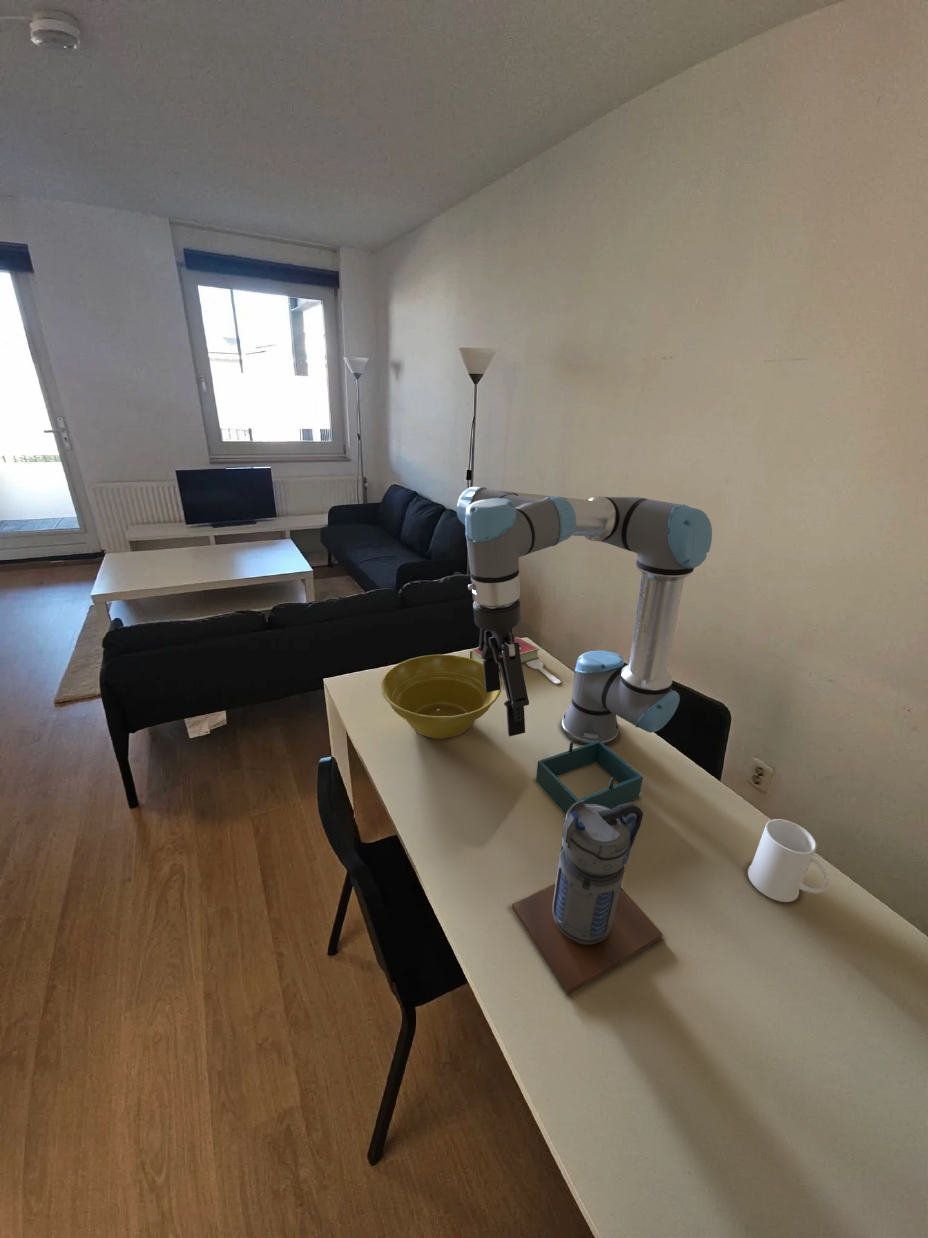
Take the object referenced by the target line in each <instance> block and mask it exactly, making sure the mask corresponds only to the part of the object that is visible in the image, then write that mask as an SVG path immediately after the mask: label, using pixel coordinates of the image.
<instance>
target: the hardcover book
mask: <svg viewBox="0 0 928 1238" xmlns="http://www.w3.org/2000/svg"><path fill="white" fill-rule="evenodd" d="M514 640H515V642H518V643H519V645H520V647H519V648H520V658H521V663H522V665H523V664H526V662H529V661H532V660H535V659H537V660H539V659H540V658H539V657H538V651H539V650H540V648H538V647H537V646H535V645H534V644H532V643H530V642H528V641H526V640H525V639H523V638H521V637H519V636H517V637H514ZM481 655H482V651H481V652H480V650H479V647H477V648H474V649H470V651H469V658H470V659H473V660H476V661H478V662H481V663H483V661H484V660H485V659H483V658H482V656H481ZM499 657H503V656H499ZM499 672H501V670H500V666H499Z"/></svg>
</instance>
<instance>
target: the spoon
mask: <svg viewBox="0 0 928 1238" xmlns="http://www.w3.org/2000/svg"><path fill="white" fill-rule="evenodd" d="M525 664H526V665H527V667H529V668H531V669H534V670H538V671H540V672H541V673H542V674H543V675H544V676H545V677H546V678H547V679H548V680H549V681H551V682H552V683H553V684H555V685H560V684H561V680H560V679H558V678H557V677H556V676H555V675H553V674H552V673H550V672H549V671H548V670H546V669H545V668H544V663H543V662H542V661H541V660H539V659H535V660H532V661H529V662H526V663H525Z"/></svg>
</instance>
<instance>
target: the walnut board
mask: <svg viewBox="0 0 928 1238" xmlns="http://www.w3.org/2000/svg"><path fill="white" fill-rule="evenodd" d="M555 885H556V883H554V884H552V885H549V886H548V887H545V888H544V889H541V890H539V891H537V892H534V893H532V894H530V895H528V896H526V897H524V898H522V899H520V900H518V901H515V902H514V903H512V905H511V909H512V911H513V912H514V914H515V915H516V917H517V918H518V920H519V922H520V923H521V925H522V926H523V928H524V929H525V931H526V933H527V935H528V937H530V939H531V941H532V942H533V943H534V945H535V947H536V948H537V950H538V952H539V953H540V954H541V957H543V959H544V960H545V962H546V963H547V966H548V967H549V969H550V970H551V971H552V973H553V974H554V977H556V979H557V981H558V982H559V984H560V985H561V987H562V989H563V990H564V992H565V993H566V995H567V996H569V995H571V994H573V993H574V992H576V991H577V990H579V989H581V988H583V987H585V986H586V985H588V984H590V983H591V982H593V981H595V980H596V979H598V978H599V977H601V976H603V975H604V974H606V973H608V972H610V971H611V970H613V969H614V968H616V967H617V966H619V965H621V964H622V963H624V962H626V961H628V960H629V959H631V958H633V957H634V956H636V955H638V954H639V953H641V952H642V951H644V950H646V949H648V948H649V947H651V946H652V945H655V944H656V943H657V942H659V941H661V940H662V939H663V936H664V934H663V933H662V931H661V930H660V929H659V928H658V927H657V926H656V924H655V923H654V922H653V921H652V920H651V919H650V918H649V917H648V916H647V915H646V913H645V912H644V911H643V910H642V908H640V906H638V904H637V903H636V902H635V901H634V900H633V898H631V897H630V895H629V894H628V893H627V892H626V891H625V890H624V889H623V888H622V890H621V889H620V893H619V898H618V902H617V907H616V911H615V916H614V921H613V925H612V929H611V932H610V934H609V935H608V936H607V937H606V938H605V939H604V940H602V941H600V942H598V943H595V944H591V945H584V944H579V943H577V942H575V941H574V940H571V939H569V938H568V937H566V936H565V935H564V934H563V933H562V932H561V930H560V929H559V928H558V926H557V924H556V923H555V920H554V918H553V913H552V906H553V899H554V892H555Z"/></svg>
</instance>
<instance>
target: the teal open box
mask: <svg viewBox="0 0 928 1238" xmlns="http://www.w3.org/2000/svg"><path fill="white" fill-rule="evenodd" d="M595 763H596V764H597V765H598V766H599V767H601V769H603V770H604V771H605V772H606V773H607V774H608V775H609V776H611V777H610V780H609V786H608V787H606V788H604V789H601V790H599V791H596V792H594V793H592V794H589V795H586V796H584V797H581V798H578V797H577V796H576V795H575V794H574V792H572V791H571V790H570V788H568V786H567V785H565V783H563V781H561V779H560V778H558V777H559V776H562V775H565V774H567V773H570V772H573V771H575V770H578V769H581V768H583V767H586V766H589V765H592V764H595ZM615 781H616V782H617V784H615ZM643 781H644V776H643V775H642V774H640V773H639V772H638V771H637V770H635V769H634V767H632V766H631V765H630V764H629V763H627V762H626V761H625V760H623V759H622V758H621V757H620V756H619V755H617V754H616V753H615V752H614V751H613V750H612V749H610V748H609V747H608V745H607V746H605V745H604V744H603V743H602V742H601V741H596V742H593V743H590V744H587V745H580V746H579V747H576V748H574V741H573V740H571V741H570V742H569V747H568V750H567V751H563V752H560V753H557V754H555V755H552V756H549V757H546V758H543V759H540V760H537V767H536V774H535V782H536V783H537V785H538V786H539V787H540V788H541V789H542V790H543V791H544V792H545V793H546V794H547V796H548V797H549V798H550V799H551V800H552V801H553V802H554V804H556V805H557V806H558V808H559V809H560V810H561V811H562V812H563V813H564V814H565V816H566V815H567V812H568V810H569V808H570V807H571V806H572V805H573V804H574V803H576V802H578V801H581V800H585V802H584V804H597V805H601V806H605V807H607V808H609V809H613V808H615V807H616V806H618V805H621V804H625V803H630V802H631V801H634V800H637V799H639V798H640V794H641V790H642V785H643Z"/></svg>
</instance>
